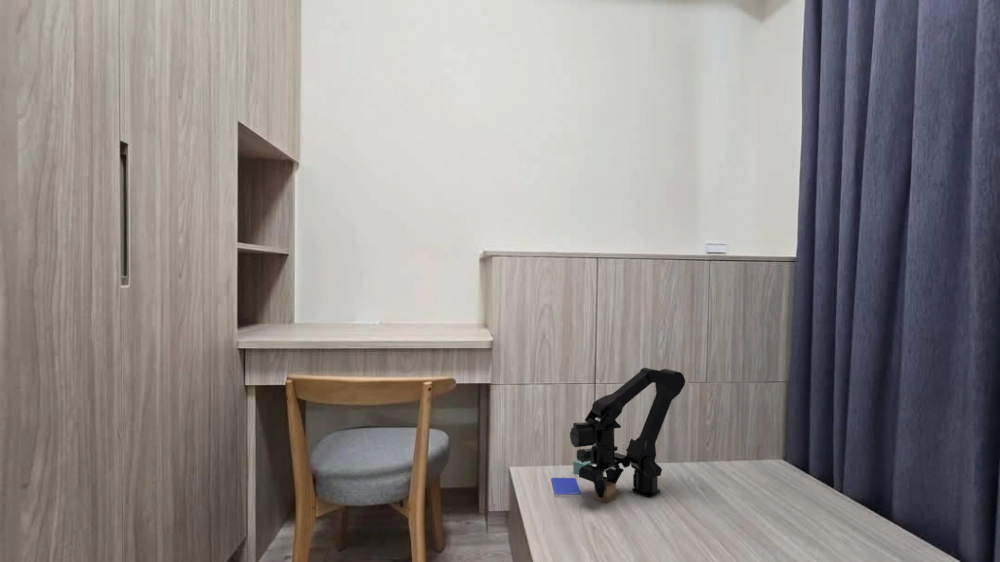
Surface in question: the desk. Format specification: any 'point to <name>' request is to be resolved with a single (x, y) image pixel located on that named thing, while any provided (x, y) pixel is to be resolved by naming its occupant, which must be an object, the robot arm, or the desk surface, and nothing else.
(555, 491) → the hard drive
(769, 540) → the desk surface
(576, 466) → the teal cube
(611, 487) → the walnut cube
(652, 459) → the robot arm
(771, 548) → the desk surface
